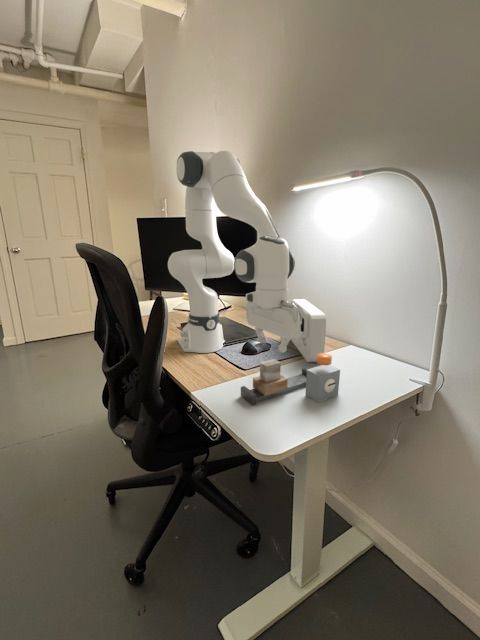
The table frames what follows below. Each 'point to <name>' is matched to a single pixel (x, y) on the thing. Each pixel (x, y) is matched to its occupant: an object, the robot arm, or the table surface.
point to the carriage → (270, 378)
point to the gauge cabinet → (322, 382)
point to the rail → (292, 384)
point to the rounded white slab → (310, 330)
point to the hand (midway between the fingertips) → (271, 346)
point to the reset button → (324, 359)
